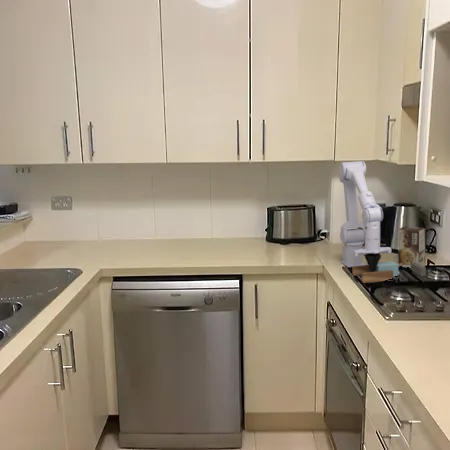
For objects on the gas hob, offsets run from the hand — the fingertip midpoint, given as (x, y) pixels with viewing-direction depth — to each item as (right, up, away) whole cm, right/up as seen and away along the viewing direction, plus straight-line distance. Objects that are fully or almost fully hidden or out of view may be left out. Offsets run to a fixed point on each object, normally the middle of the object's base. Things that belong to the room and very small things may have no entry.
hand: (372, 271), depth 185 cm
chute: (0, -2, 0) cm, 2 cm away
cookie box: (+20, +1, +11) cm, 23 cm away
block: (+6, -2, +1) cm, 6 cm away
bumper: (+19, -1, +2) cm, 19 cm away
